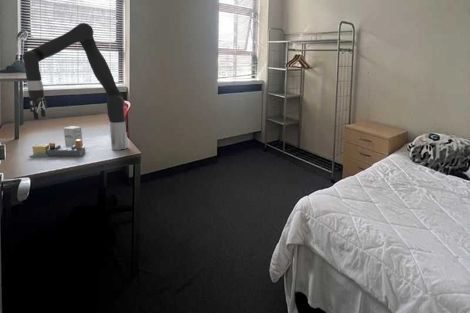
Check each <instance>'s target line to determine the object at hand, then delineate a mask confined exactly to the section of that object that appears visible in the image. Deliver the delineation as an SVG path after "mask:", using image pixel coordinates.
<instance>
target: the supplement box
mask: <svg viewBox="0 0 470 313" xmlns="http://www.w3.org/2000/svg"><path fill="white" fill-rule="evenodd" d="M63 135H64V144H65V147H72V146H73V145H76V142H75V141H76V140H77V139H82V147H84V143H83V133H82V126H77V125H76V126H74V125H70V126H66V127H63Z"/></svg>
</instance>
